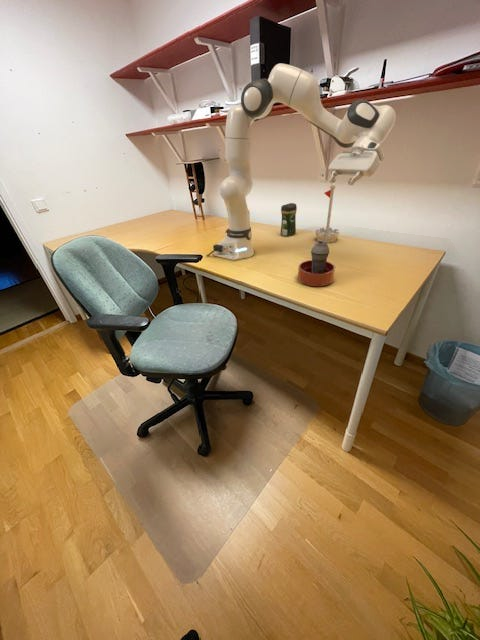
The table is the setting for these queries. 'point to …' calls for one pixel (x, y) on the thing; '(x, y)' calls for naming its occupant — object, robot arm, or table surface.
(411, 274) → the table surface
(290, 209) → the coffee jar
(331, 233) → the flag stand
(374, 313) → the table surface
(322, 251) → the beverage cup
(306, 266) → the bowl
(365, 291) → the table surface
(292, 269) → the table surface
